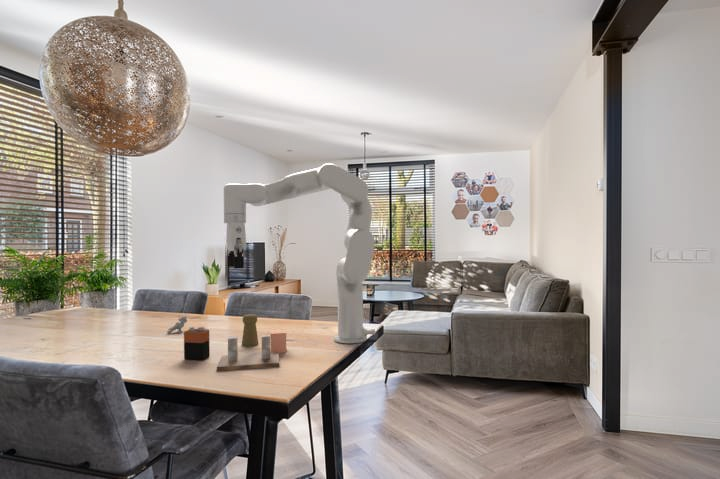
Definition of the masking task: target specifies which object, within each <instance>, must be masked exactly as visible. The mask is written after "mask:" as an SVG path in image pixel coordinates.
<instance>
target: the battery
mask: <svg viewBox="0 0 720 479" xmlns="http://www.w3.org/2000/svg"><path fill="white" fill-rule="evenodd" d="M210 351H211V350H210V329H206V328H205V327H203V326H201V327H198V328H195V327H193V326H192V327H189V329H187V330H184V332H183V352H184V353H183V359H184V360H187V361H204V360H206V359H208V358H210V357H211V356H210V355H211V354H210Z"/></svg>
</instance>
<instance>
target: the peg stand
mask: <svg viewBox="0 0 720 479" xmlns="http://www.w3.org/2000/svg"><path fill="white" fill-rule="evenodd" d="M238 345H239V344H238V336H236V335H235V336H228V337H227V354H224V355H221V356H220V359H219V360H218V363H217V366H216V372H222V371H223V372H224V371H236V370H237V371H238V370H252V369H264V368H265V369H266V368H267V369H268V368H280V353H279V352H271V334H261V352H257V353H243V354H242V353H241V354H238V352H239V351H238V348H239V346H238Z"/></svg>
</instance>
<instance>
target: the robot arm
mask: <svg viewBox="0 0 720 479" xmlns="http://www.w3.org/2000/svg"><path fill="white" fill-rule="evenodd" d="M329 189H330V190H333V191H334V192H337V193H338V194H340V196H341V199H342V200H343V202H344V203H345V204H346V206H348V209H349V218H348V224H347V227H346V233H345V236H344V241H343V242H344V243H343V244H344V247H345V249H346V255H345V257H343V258H342V259H340V260H339V261H338V263H337V265H336V274H335V275H336V284H337V334H336V335H334V336H333V341H334V342H336V343H338V344H339V343H340V344H359V343H360V344H361V343H364V342H366V341H367V340H368V335H376V329H375V328H372V329H371V328H365V327H364V309H363V308H364V305H363V304H364V302H363V301H364V300H363V299H364V298H363V297H364V292H363V290H364V289H363V282H365V280H366V279H367V277H368V276H369V274H370V270H371V266H372V261H373V256H374V250H375V243H376V242H375V238H374V235H373V233H372V231H370V230H371V225H372V218H373V208H372V205H371V203H370V200H369V198H368V195H369V186H368V184H367V182H366V181H364V180H363V179H362V178H360V177H359V176H357V175H355V174H353V173H351V172H349V171H347V170H346V169H344V168H342V167H340V166H339V165H336V164H335V163H324V164H322V165H321V166H320V167H317V168H312V169H308V170H304V171H300V172H296V173H292V174H289V175H286V176H285V177H283V178H282V179H279V180H276V181H274V182H273V181H272V182H270V183H265V184H262V183H256V182H253V183H246V184H241V183H227V184H225V185H223V223H224V224H226V234H225V235H226V238H225V239H226V250H227V267H228V268H231V267H232V268H233V269H244V267H245V266H244V265H245V263H244V262H245V261H244V259H245V258H244V255H245V254H244V251H246V250H247V237H246V236H247V234H246V225H245V224H247V204H250V205H251V206H254V207H262V206H265V205H270V204H275V203H278V202H280V201H286V200H291V199H296V198H299V197H303V196H306V195H310V194H313V193H319V192H322V191H327V190H329Z"/></svg>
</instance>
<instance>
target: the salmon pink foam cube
mask: <svg viewBox="0 0 720 479" xmlns="http://www.w3.org/2000/svg"><path fill="white" fill-rule="evenodd" d="M270 352H279V354H281V353H287V330H286V329H272V330H270Z"/></svg>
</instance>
